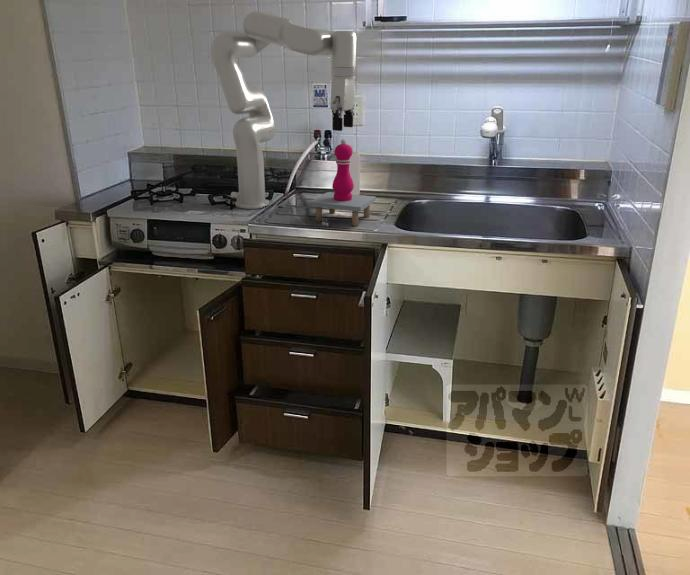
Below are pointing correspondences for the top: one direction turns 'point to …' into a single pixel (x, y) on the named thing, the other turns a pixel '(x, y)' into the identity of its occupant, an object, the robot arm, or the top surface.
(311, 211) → the top surface
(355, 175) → the milk
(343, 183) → the pepper mill
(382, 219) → the top surface
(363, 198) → the stool
